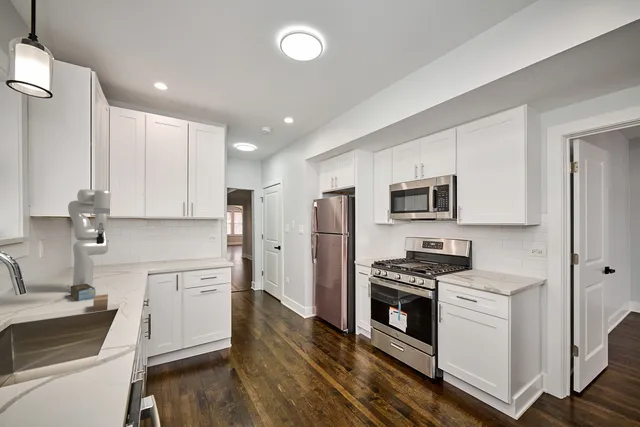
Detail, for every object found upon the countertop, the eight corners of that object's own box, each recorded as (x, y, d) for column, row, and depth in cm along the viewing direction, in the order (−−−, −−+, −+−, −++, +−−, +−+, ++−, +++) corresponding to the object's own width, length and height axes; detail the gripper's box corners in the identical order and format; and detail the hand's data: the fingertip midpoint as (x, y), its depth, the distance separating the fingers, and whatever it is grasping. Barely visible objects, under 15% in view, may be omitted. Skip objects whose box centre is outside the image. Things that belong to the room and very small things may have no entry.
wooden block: (94, 295, 145) (93, 300, 135) (107, 294, 148) (107, 299, 139) (94, 306, 145) (92, 312, 135) (107, 304, 148) (107, 310, 138)
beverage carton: (77, 302, 153) (78, 289, 153) (69, 296, 165) (70, 284, 165) (95, 299, 159) (96, 287, 159) (86, 293, 171) (87, 282, 171)
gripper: (93, 212, 164) (92, 243, 164) (92, 211, 153) (90, 244, 152) (109, 212, 169) (108, 243, 168) (109, 211, 157) (108, 244, 156)
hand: (99, 243), depth 160 cm, fingers closed
